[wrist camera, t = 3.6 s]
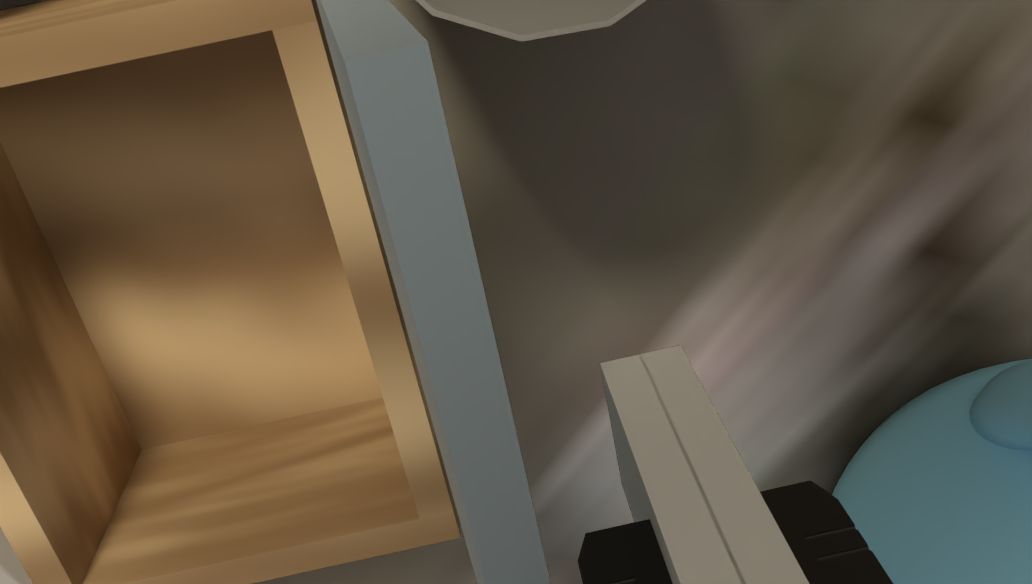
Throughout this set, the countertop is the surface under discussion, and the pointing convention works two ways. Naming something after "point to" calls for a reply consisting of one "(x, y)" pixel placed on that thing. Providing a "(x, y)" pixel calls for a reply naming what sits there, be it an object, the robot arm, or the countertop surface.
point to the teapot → (950, 482)
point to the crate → (197, 304)
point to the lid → (436, 279)
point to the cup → (531, 15)
